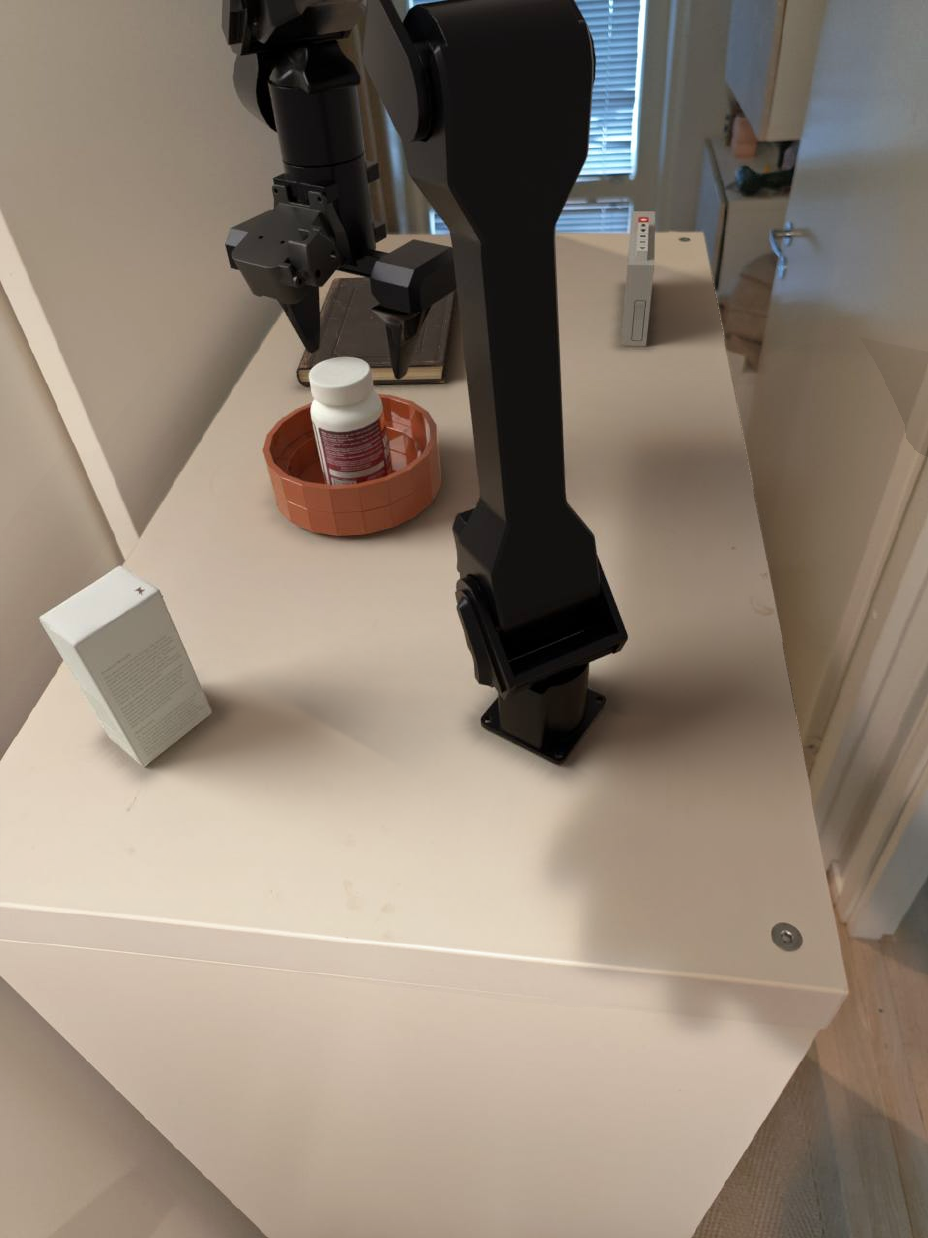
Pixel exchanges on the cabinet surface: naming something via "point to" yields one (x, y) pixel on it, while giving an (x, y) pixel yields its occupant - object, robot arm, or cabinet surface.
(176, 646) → the cosmetic box
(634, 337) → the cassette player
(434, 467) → the bowl
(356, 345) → the hardcover book
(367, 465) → the pill bottle
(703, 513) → the cabinet surface
